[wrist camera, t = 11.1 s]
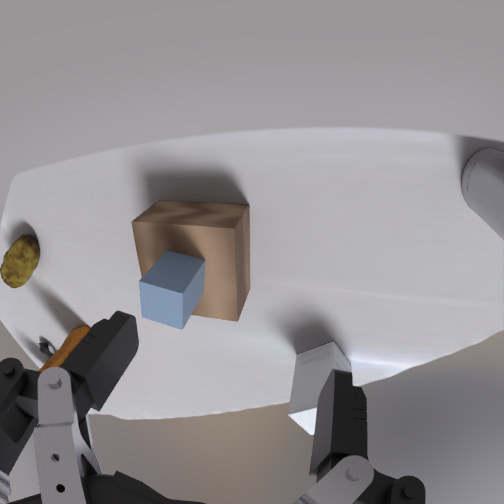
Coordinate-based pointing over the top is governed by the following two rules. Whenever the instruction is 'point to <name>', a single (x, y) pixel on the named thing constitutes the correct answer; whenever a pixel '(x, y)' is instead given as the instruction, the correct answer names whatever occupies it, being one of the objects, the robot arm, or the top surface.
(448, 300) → the top surface
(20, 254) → the potato
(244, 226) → the walnut box
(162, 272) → the slate block
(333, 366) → the supplement box
